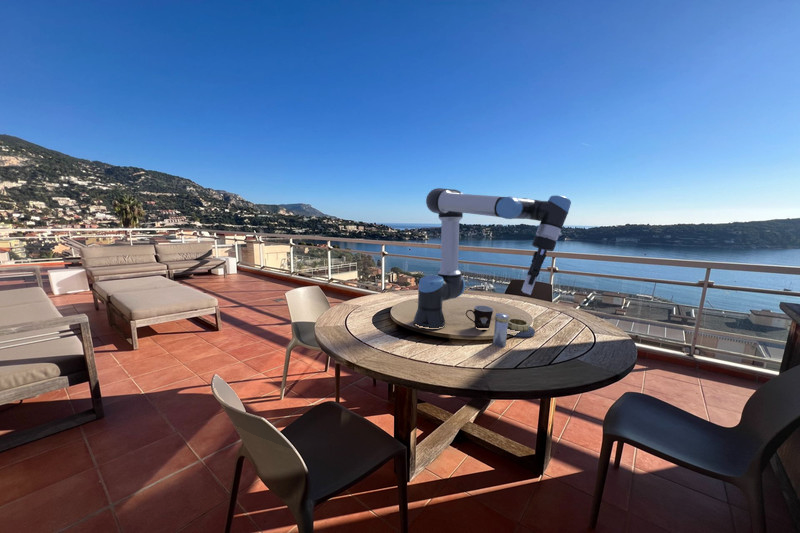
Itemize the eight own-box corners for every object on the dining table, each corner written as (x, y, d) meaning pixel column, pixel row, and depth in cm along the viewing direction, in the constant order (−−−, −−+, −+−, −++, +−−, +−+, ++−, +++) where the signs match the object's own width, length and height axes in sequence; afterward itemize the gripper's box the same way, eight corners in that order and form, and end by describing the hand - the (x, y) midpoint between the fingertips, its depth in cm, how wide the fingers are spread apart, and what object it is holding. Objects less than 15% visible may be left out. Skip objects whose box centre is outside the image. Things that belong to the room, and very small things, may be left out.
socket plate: (493, 326, 140) (494, 318, 140) (517, 323, 146) (518, 314, 145) (516, 339, 127) (517, 330, 126) (541, 335, 132) (543, 325, 132)
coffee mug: (493, 327, 140) (495, 307, 138) (488, 333, 132) (490, 312, 131) (470, 322, 146) (471, 303, 144) (463, 327, 139) (465, 307, 137)
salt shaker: (490, 342, 123) (492, 313, 121) (500, 341, 125) (502, 312, 123) (498, 348, 118) (501, 318, 116) (508, 346, 120) (511, 316, 118)
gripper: (562, 237, 94) (539, 298, 96) (552, 245, 117) (533, 294, 119) (538, 230, 96) (515, 290, 98) (533, 239, 120) (514, 287, 121)
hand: (525, 292), depth 108 cm, fingers open, 13 cm apart
